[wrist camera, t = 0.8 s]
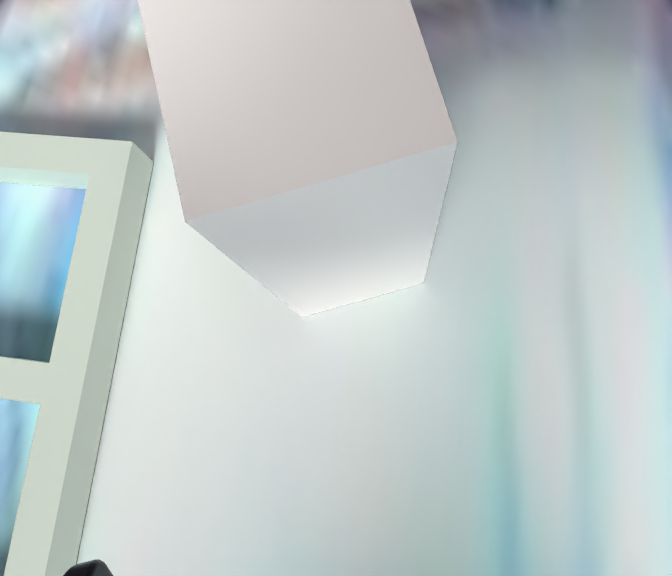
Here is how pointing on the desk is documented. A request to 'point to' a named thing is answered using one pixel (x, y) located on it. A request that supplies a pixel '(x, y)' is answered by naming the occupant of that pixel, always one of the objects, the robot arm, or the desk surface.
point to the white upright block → (305, 140)
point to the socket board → (73, 337)
